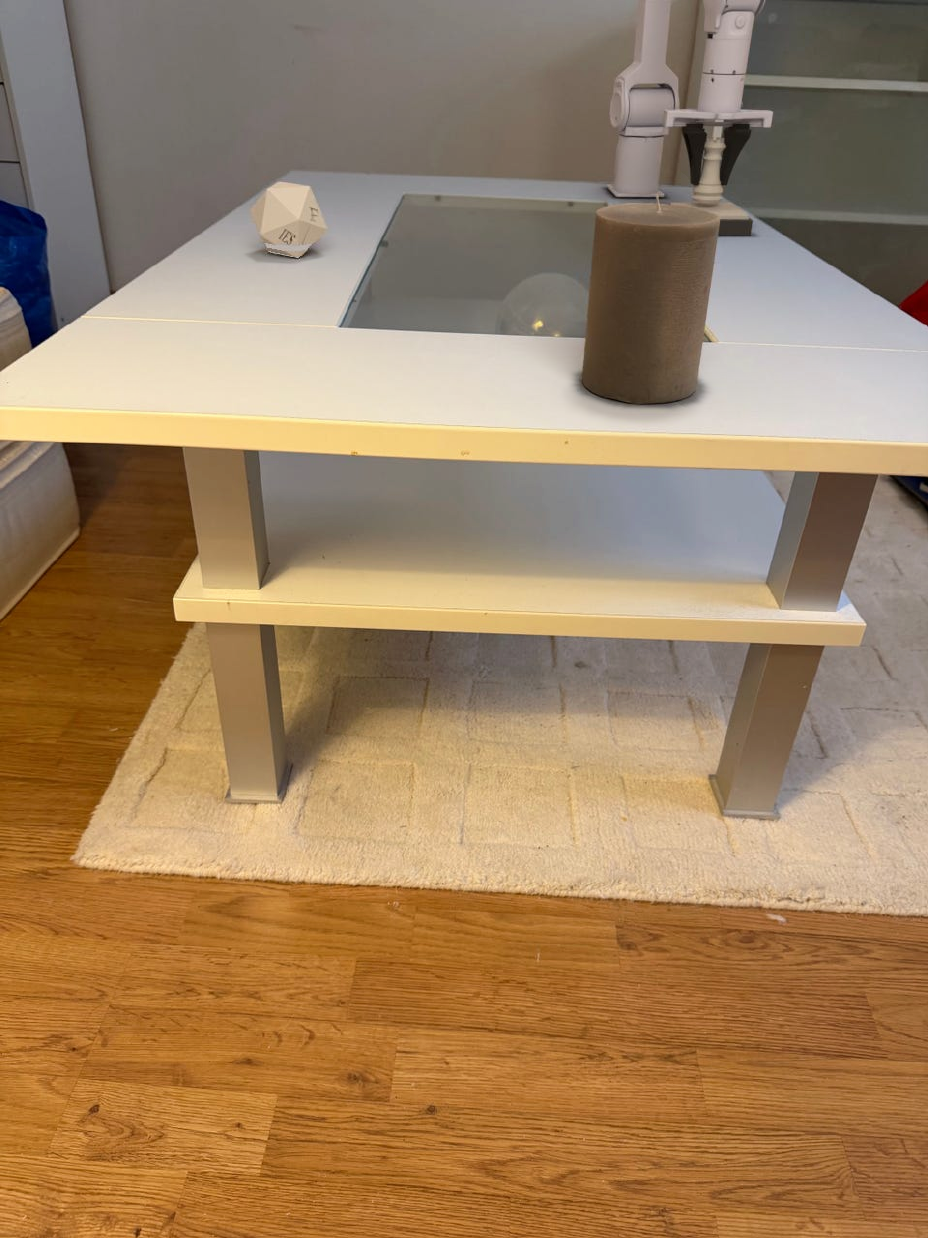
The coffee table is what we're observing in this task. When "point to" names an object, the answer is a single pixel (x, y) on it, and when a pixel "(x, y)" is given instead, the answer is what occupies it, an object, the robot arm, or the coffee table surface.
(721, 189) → the rook chess piece
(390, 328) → the coffee table surface
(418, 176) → the coffee table surface
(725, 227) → the scale
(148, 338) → the coffee table surface
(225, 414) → the coffee table surface
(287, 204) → the die
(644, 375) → the pillar candle
